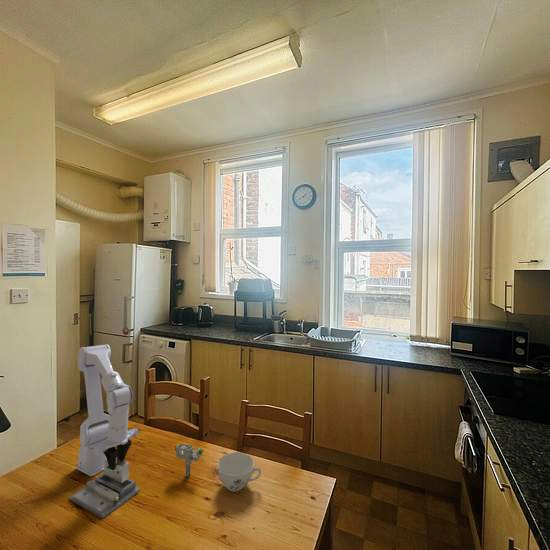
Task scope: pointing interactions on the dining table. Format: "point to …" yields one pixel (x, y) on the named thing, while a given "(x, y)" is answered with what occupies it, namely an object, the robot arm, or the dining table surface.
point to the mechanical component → (187, 455)
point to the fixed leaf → (104, 495)
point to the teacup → (236, 470)
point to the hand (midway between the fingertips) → (116, 466)
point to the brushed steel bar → (117, 470)
